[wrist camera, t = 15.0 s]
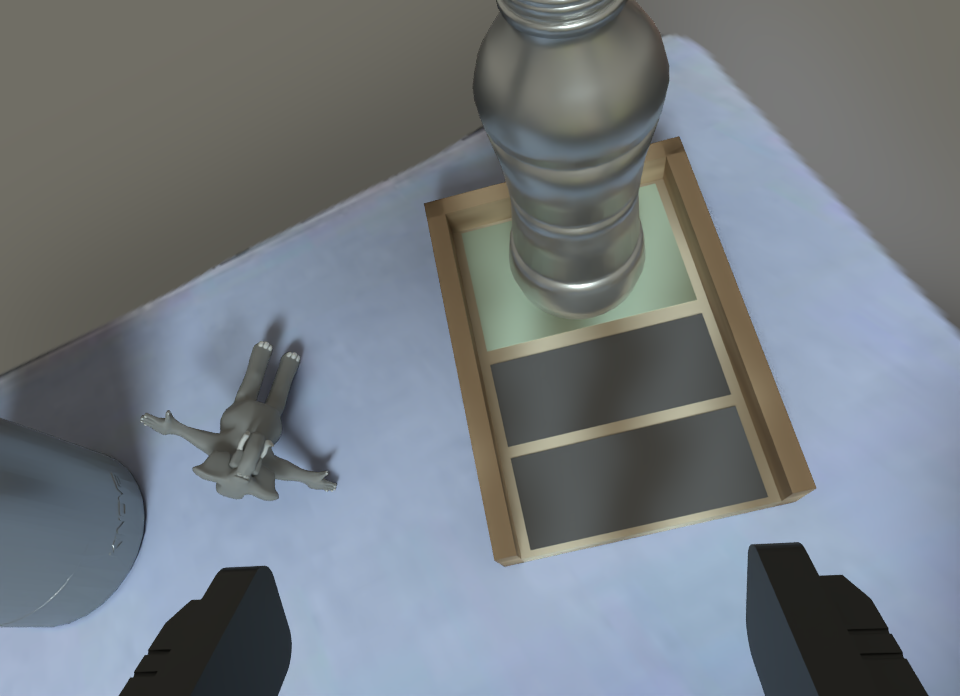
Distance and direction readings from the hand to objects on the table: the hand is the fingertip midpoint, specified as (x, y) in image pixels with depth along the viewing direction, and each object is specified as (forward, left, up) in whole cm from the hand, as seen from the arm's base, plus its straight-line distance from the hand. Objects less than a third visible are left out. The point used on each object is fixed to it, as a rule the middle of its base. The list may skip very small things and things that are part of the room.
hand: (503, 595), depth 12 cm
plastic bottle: (+5, +16, -21) cm, 27 cm away
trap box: (+5, +12, -23) cm, 26 cm away
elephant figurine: (-14, +12, -23) cm, 29 cm away
